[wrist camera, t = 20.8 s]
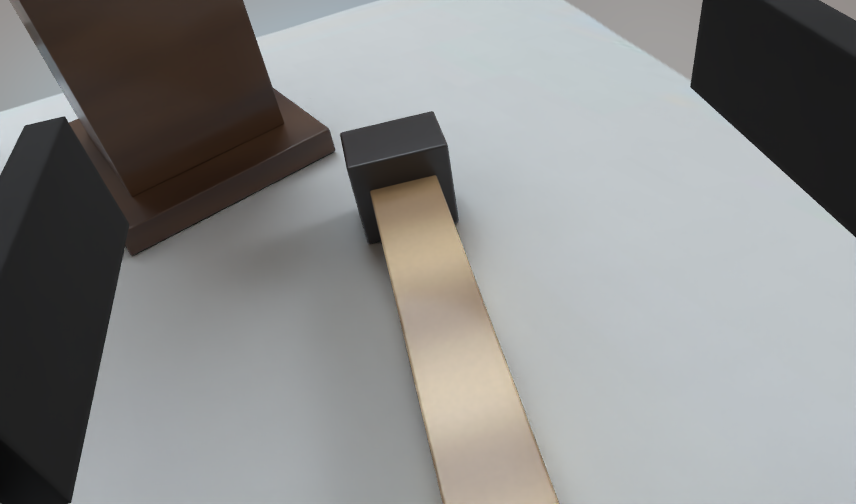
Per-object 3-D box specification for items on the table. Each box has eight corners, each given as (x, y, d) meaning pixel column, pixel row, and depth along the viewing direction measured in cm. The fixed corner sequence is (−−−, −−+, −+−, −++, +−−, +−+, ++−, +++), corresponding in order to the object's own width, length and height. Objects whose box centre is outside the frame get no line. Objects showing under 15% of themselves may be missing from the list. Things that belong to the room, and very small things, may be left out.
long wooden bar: (634, 678, 17) (650, 620, 14) (468, 727, 16) (446, 677, 13) (445, 186, 33) (433, 110, 30) (359, 206, 33) (339, 132, 30)
